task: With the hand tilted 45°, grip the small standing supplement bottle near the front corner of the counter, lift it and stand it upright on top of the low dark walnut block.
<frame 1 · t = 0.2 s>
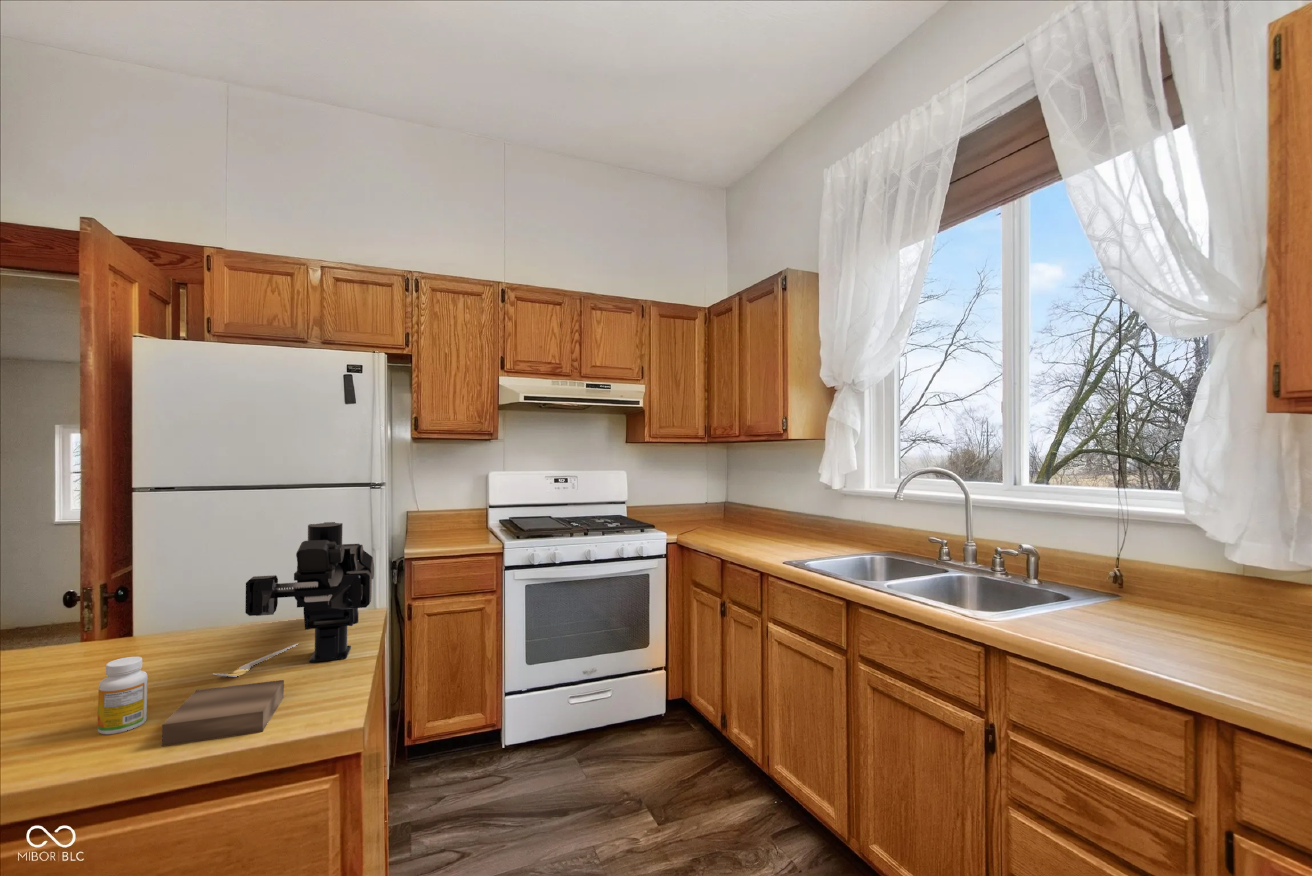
hand: (297, 606, 90), 17 cm above the counter, tool horizontal, fingers open, 9 cm apart
fork: (261, 664, 110), on the counter
supplement bottle: (122, 727, 85), on the counter
walnut base: (227, 719, 87), on the counter
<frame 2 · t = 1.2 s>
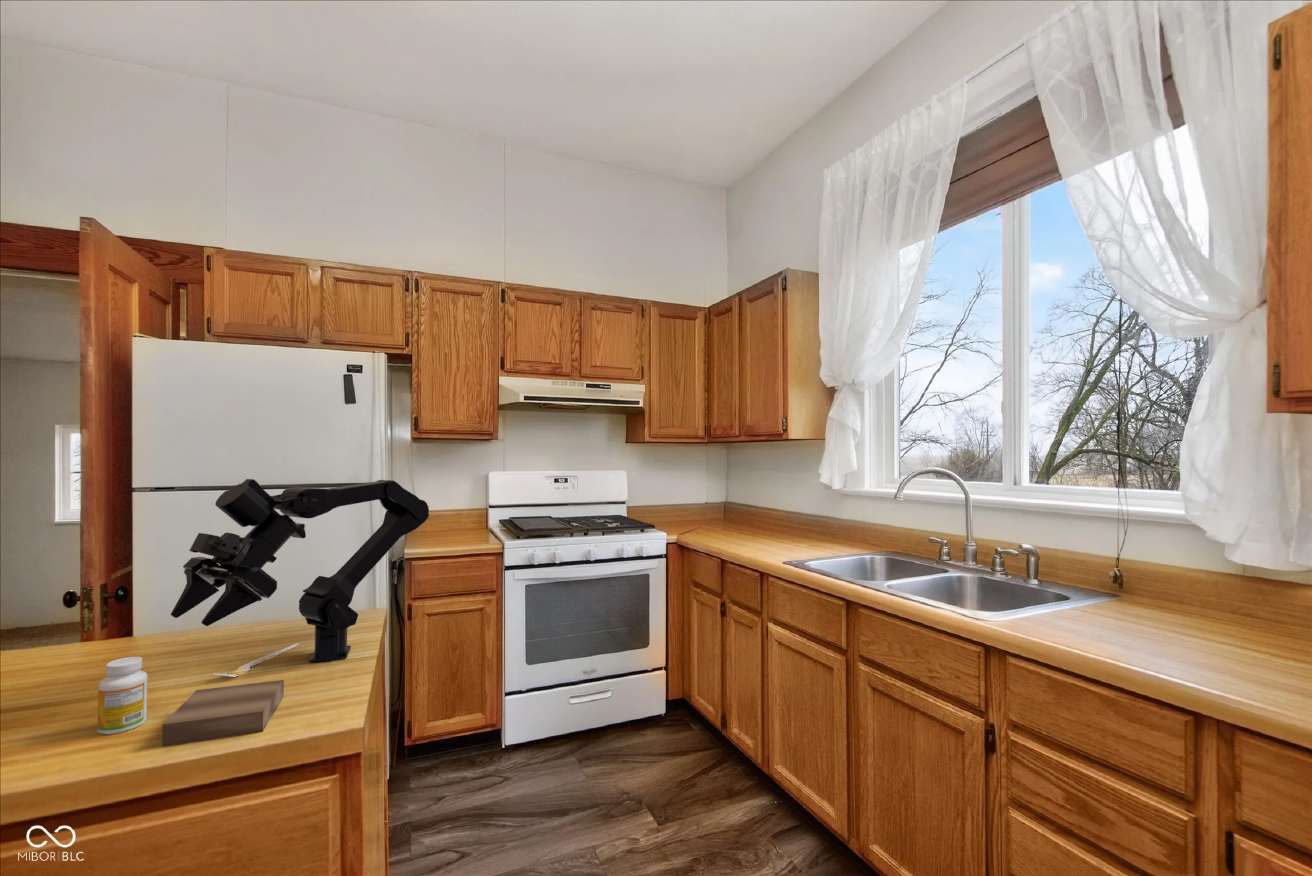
hand: (188, 620, 92), 14 cm above the counter, tool tilted 45°, fingers open, 9 cm apart
nothing on the counter moved.
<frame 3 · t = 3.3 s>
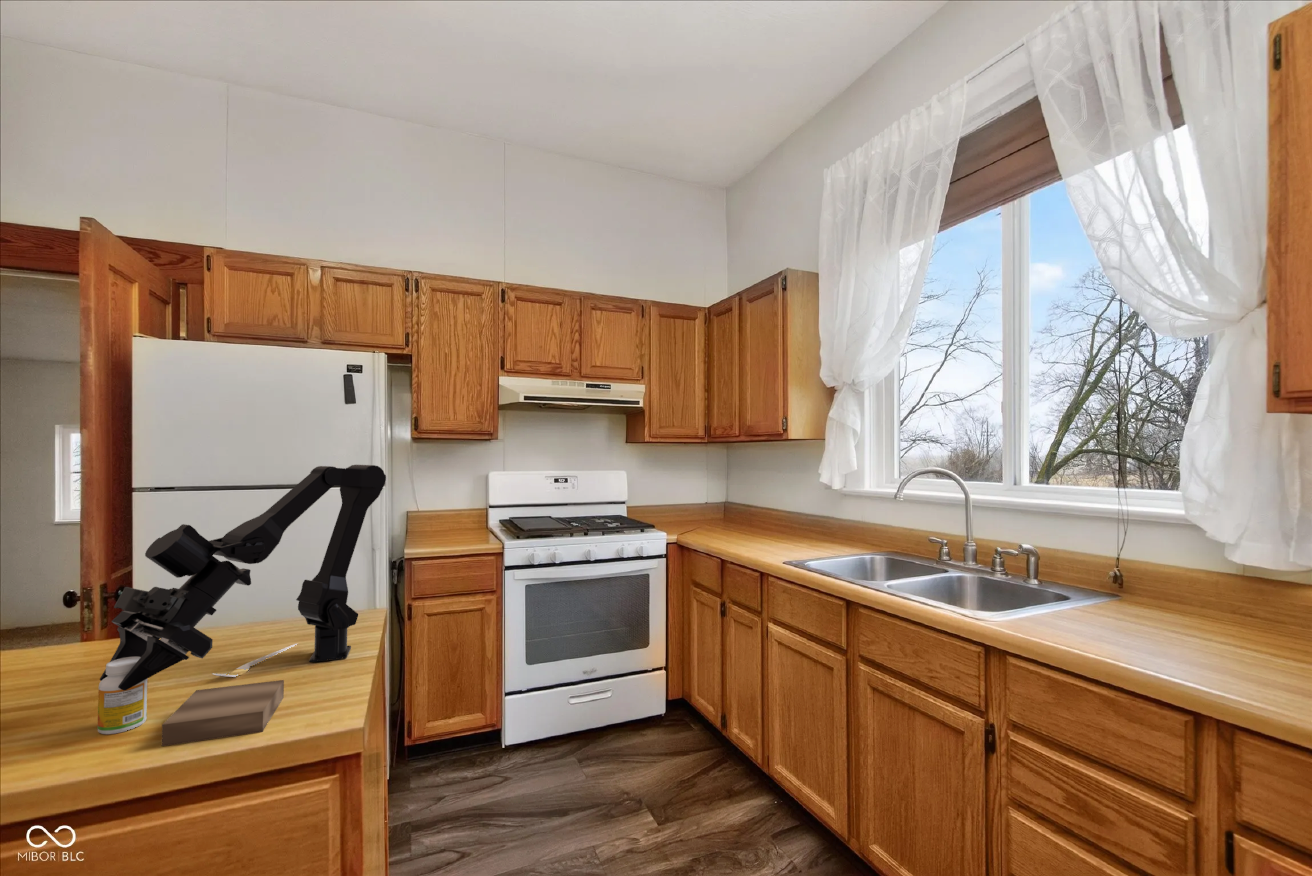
hand: (111, 685, 83), 7 cm above the counter, tool tilted 45°, fingers closed on supplement bottle, 5 cm apart
supplement bottle: (122, 727, 85), on the counter, touching gripper
everything else where it was.
when the fingers open (11 cm above the counter, at t = 7.1 s): supplement bottle drops 1 cm, resting on walnut base.
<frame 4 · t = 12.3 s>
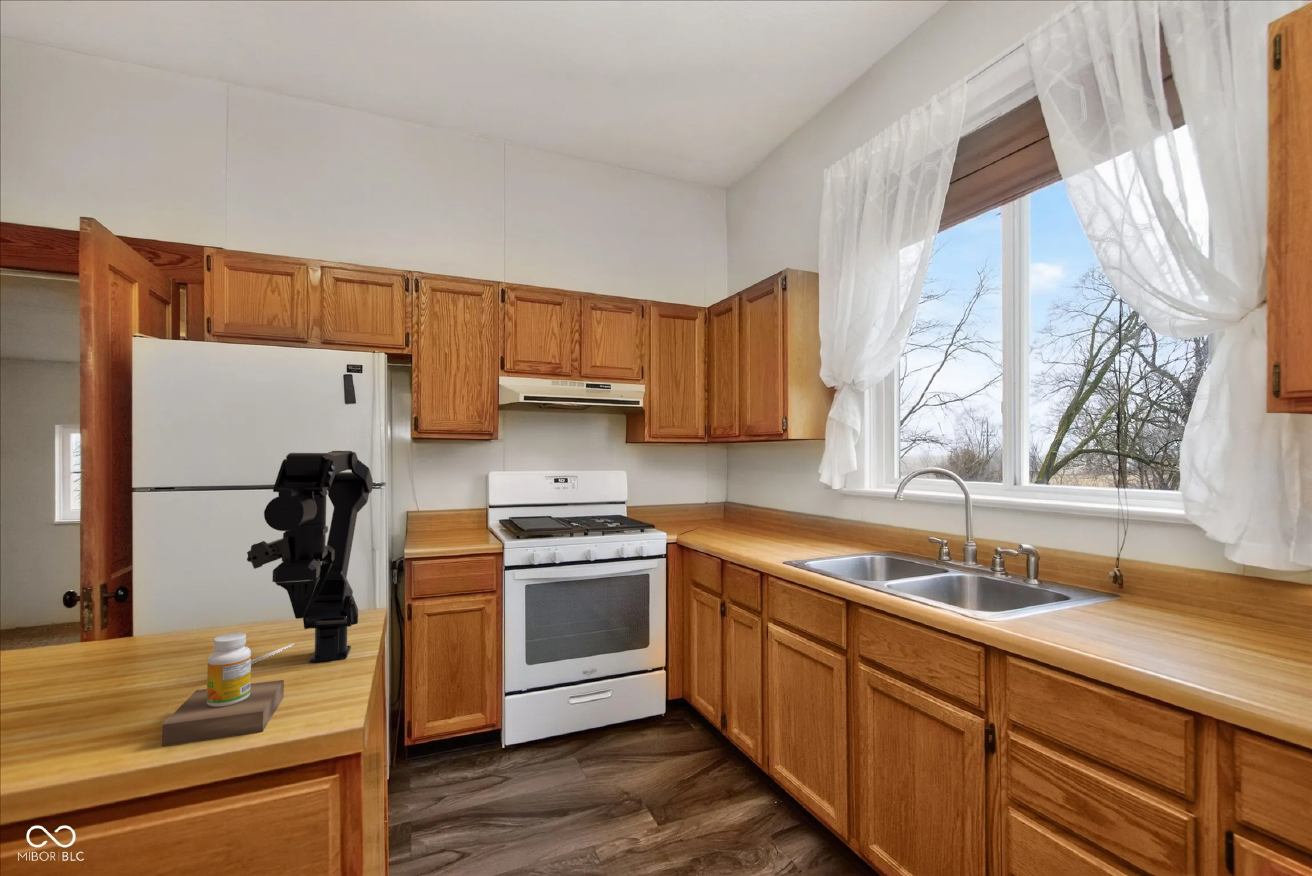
hand: (305, 610, 100), 13 cm above the counter, tool pointing down, fingers open, 9 cm apart
supplement bottle: (228, 700, 87), point 3 cm above the counter, touching walnut base
everything else where it was.
at the end: supplement bottle inside the target area on the walnut base (0.2 cm from its centre), point 2.8 cm above the walnut base's base; supplement bottle tilted 0°; the gripper is holding nothing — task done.
